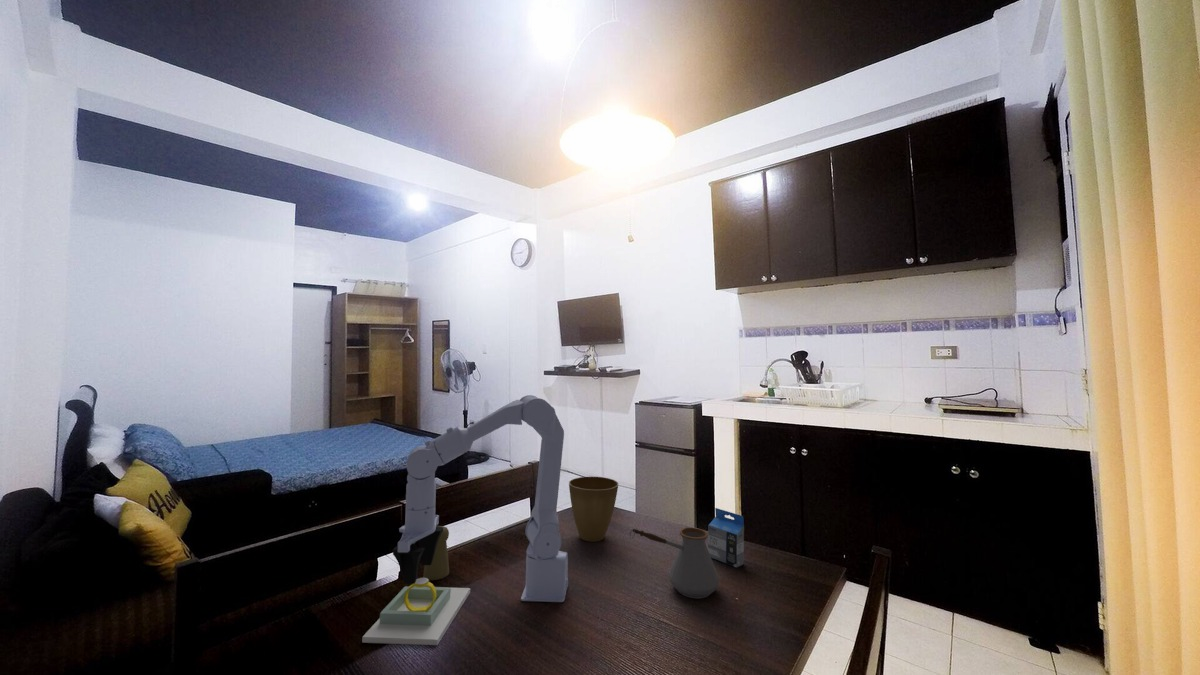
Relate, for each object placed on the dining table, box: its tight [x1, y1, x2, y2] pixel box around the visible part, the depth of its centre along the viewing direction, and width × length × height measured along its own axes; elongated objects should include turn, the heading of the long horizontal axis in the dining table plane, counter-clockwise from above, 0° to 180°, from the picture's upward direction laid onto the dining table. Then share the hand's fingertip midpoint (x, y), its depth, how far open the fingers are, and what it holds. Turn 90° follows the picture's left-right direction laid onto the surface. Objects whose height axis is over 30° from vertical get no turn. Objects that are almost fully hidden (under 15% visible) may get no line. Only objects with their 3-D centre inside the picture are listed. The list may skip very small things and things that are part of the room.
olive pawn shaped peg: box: [422, 525, 450, 581], centre depth 106 cm, size 6×6×11 cm
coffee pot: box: [629, 526, 720, 600], centre depth 99 cm, size 21×12×15 cm, turn 105°
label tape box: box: [707, 507, 745, 568], centre depth 115 cm, size 9×4×12 cm, turn 42°
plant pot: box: [568, 476, 619, 543], centre depth 129 cm, size 15×15×16 cm
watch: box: [404, 577, 436, 612], centre depth 88 cm, size 6×3×6 cm, turn 98°
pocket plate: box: [361, 585, 471, 646], centre depth 88 cm, size 14×18×3 cm
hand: (418, 573), depth 89 cm, fingers open, 7 cm apart
